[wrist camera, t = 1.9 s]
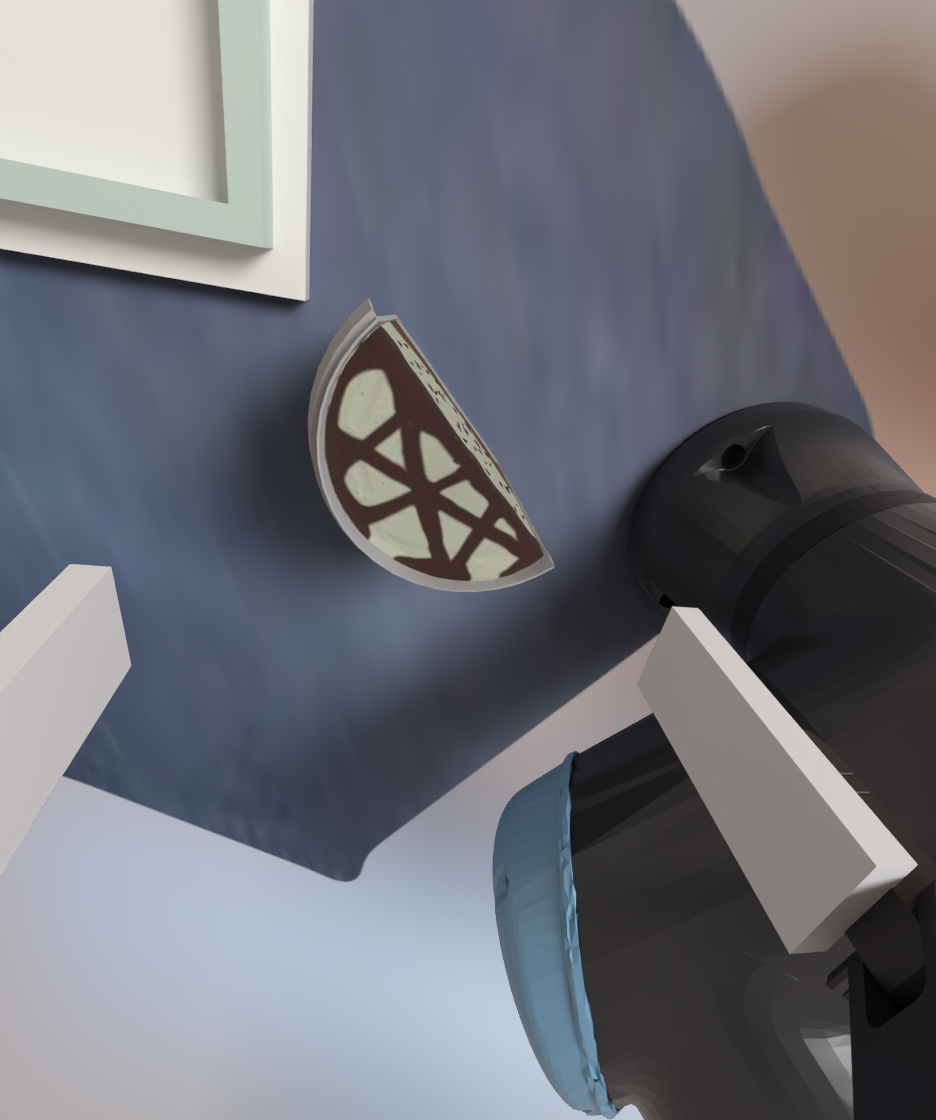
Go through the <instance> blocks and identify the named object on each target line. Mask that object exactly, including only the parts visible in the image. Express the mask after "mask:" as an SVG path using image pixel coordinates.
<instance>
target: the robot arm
mask: <svg viewBox="0 0 936 1120" xmlns="http://www.w3.org/2000/svg"><path fill="white" fill-rule="evenodd" d="M630 558H631V563H632V567H633V571H634V573H635V576H636V578H637V580H638V582H639V584H640V585H641V587H642V588H643V590H644V591H645V592H646V594H647V595H648V596H649V598H650V599H651V600H652V602H653V603H654V604H655V606H656V607H657V608H658V609H659V610H660V611H661V612H662V613H663V614H664V615H665V616H666V617H667V619H666V621H665V624H664V626H663V628H662V630H661V632H660V635H659V637H658V639H657V642H656V644H655V646H654V648H653V650H652V653H651V655H650V657H649V659H648V661H647V664H646V666H645V668H644V670H643V673H642V675H641V677H640V679H639V682H638V684H637V685H638V686H639V688H640V690H641V692H642V694H643V695H644V697H645V699H646V700H647V703H648V704H649V706H650V708H651V709H652V711H653V713H652V714H650V715H649V716H647V717H645V718H643V719H641V720H639V721H638V722H636V723H634V724H632V725H630V726H629V727H627V728H625V729H623V730H621V731H620V732H618V733H616V734H614V735H612V736H611V737H609V738H607V739H605V740H603V741H601V742H600V743H598V744H596V745H594V746H592V747H591V748H589V749H587V750H585V751H583V752H582V753H578V752H577V751H574V752H572V753H570V754H568V755H567V757H566V758H565V759H564V762H563V763H562V764H560V765H559V766H557V767H555V768H554V769H552V770H551V771H549V772H548V773H546V774H544V775H543V776H542V777H540V778H538V779H536V780H535V781H533V782H532V783H530V784H529V785H527V786H526V787H524V788H522V789H521V790H520V791H519V792H517V793H516V794H515V795H514V796H513V797H512V798H511V799H510V801H509V802H508V804H507V805H506V807H505V809H504V811H503V813H502V815H501V818H500V820H499V824H498V827H497V831H496V836H495V843H494V853H493V888H494V896H495V913H496V921H497V927H498V934H499V939H500V945H501V950H502V955H503V960H504V963H505V968H506V972H507V976H508V980H509V984H510V988H511V991H512V994H513V997H514V1001H515V1004H516V1007H517V1010H518V1013H519V1016H520V1019H521V1021H522V1024H523V1027H524V1029H525V1032H526V1035H527V1038H528V1040H529V1043H530V1045H531V1047H532V1050H533V1052H534V1054H535V1056H536V1058H537V1060H538V1062H539V1064H540V1066H541V1068H542V1070H543V1072H544V1073H545V1075H546V1077H547V1079H548V1080H549V1082H550V1084H551V1085H552V1086H553V1088H554V1089H555V1091H556V1092H557V1093H558V1094H559V1096H560V1097H561V1098H562V1099H563V1100H564V1101H565V1102H566V1103H567V1104H568V1105H569V1106H570V1107H572V1108H573V1109H575V1110H580V1111H583V1112H585V1113H586V1114H587V1115H591V1116H593V1115H603V1116H604V1117H606V1118H607V1119H613V1118H614V1117H615V1116H616V1114H618V1113H619V1111H620V1110H621V1109H622V1108H623V1107H624V1106H626V1105H629V1104H632V1105H634V1106H636V1107H637V1109H638V1110H639V1112H640V1113H641V1115H642V1117H643V1118H644V1120H936V498H934V497H932V496H930V495H928V494H926V493H924V492H923V491H922V490H921V489H920V488H919V487H918V485H917V484H916V483H915V482H914V481H913V480H912V479H911V478H910V477H909V476H908V475H907V474H906V472H904V470H903V469H901V467H900V466H899V465H898V464H897V463H896V462H895V461H894V460H893V458H892V457H891V456H890V455H889V454H888V453H887V452H886V451H885V450H884V449H883V448H882V447H881V446H880V444H879V443H878V442H877V441H876V440H875V439H874V438H873V437H872V436H871V435H870V434H869V433H868V432H867V431H866V430H864V429H863V428H862V427H860V426H859V425H857V424H856V423H854V422H852V421H851V420H849V419H847V418H844V417H842V416H840V415H837V414H834V413H831V412H829V411H826V410H823V409H821V408H818V407H815V406H812V405H808V404H803V403H796V402H774V403H766V404H761V405H756V406H752V407H749V408H745V409H743V410H740V411H737V412H734V413H732V414H730V415H727V416H725V417H723V418H721V419H719V420H717V421H715V422H714V423H712V424H710V425H709V426H707V427H705V428H704V429H702V430H701V431H699V432H698V433H697V434H695V435H694V436H693V437H691V438H690V439H689V440H688V441H686V442H685V443H684V444H683V445H682V446H681V447H679V448H678V449H677V450H676V451H675V452H674V453H673V454H672V455H671V456H670V457H669V459H668V460H667V461H666V462H665V463H664V464H663V465H662V467H661V468H660V469H659V470H658V472H657V473H656V475H655V476H654V477H653V479H652V480H651V482H650V483H649V485H648V487H647V489H646V490H645V492H644V494H643V496H642V498H641V500H640V502H639V505H638V507H637V510H636V513H635V516H634V519H633V523H632V528H631V534H630ZM130 667H131V662H130V657H129V652H128V647H127V642H126V637H125V632H124V627H123V622H122V618H121V613H120V608H119V603H118V598H117V593H116V588H115V583H114V579H113V574H112V569H111V567H104V566H89V565H75V564H70V565H69V566H68V567H67V568H66V569H65V570H64V571H63V572H62V573H61V574H60V575H59V576H57V577H56V578H55V579H54V580H53V581H52V582H51V583H50V584H49V585H48V586H47V587H46V588H45V589H44V590H43V591H42V592H41V593H40V594H39V595H38V596H37V597H36V598H35V599H34V600H33V601H32V602H31V603H30V604H29V605H28V606H27V607H26V608H25V609H24V610H23V611H22V612H21V613H20V614H19V615H18V616H16V617H15V618H14V619H13V620H12V621H11V622H10V623H9V624H8V625H7V626H6V627H5V628H4V629H3V630H2V631H1V632H0V874H1V873H2V871H3V869H4V868H5V866H6V865H7V863H8V861H9V860H10V858H11V856H12V855H13V853H14V852H15V850H16V849H17V847H18V846H19V844H20V842H21V841H22V839H23V838H24V836H25V834H26V833H27V831H28V829H29V828H30V826H31V825H32V823H33V822H34V820H35V818H36V817H37V815H38V814H39V812H40V810H41V809H42V807H43V806H44V804H45V802H46V801H47V799H48V798H49V796H50V795H51V793H52V791H53V790H54V788H55V786H56V785H57V783H58V782H59V780H60V779H61V777H62V775H63V774H64V772H65V771H66V769H67V767H68V766H69V764H70V763H71V761H72V759H73V758H74V756H75V755H76V753H77V751H78V750H79V748H80V747H81V745H82V744H83V742H84V740H85V739H86V737H87V736H88V734H89V732H90V731H91V729H92V728H93V726H94V724H95V723H96V721H97V720H98V718H99V716H100V715H101V713H102V712H103V710H104V708H105V707H106V705H107V704H108V702H109V700H110V699H111V697H112V696H113V694H114V692H115V691H116V689H117V688H118V686H119V685H120V683H121V681H122V680H123V678H124V677H125V675H126V673H127V672H128V670H129V669H130Z"/></svg>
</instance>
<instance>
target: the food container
mask: <svg viewBox="0 0 936 1120" xmlns="http://www.w3.org/2000/svg"><path fill="white" fill-rule="evenodd" d="M308 438H309V449H310V453H311V458H312V462H313V467H314V472H315V476H316V480H317V483H318V486H319V488H320V491H321V494H322V496H323V499H324V501H325V504H326V506H327V507H328V509H329V511H330V512H331V514H332V516H333V517H334V519H335V521H336V523H337V524H338V526H339V527H340V528H341V529H342V530H343V532H344V533H345V534H346V535H347V536H348V538H349V539H350V540H351V541H352V542H353V543H354V544H355V545H356V546H357V547H358V548H359V549H360V550H362V551H363V552H364V553H365V554H366V555H367V556H368V557H369V558H371V559H372V560H373V561H374V562H376V563H377V564H379V565H380V566H382V567H383V568H385V569H386V570H388V571H390V572H391V573H393V574H395V575H397V576H399V577H401V578H404V579H406V580H408V581H410V582H413V583H416V584H419V585H423V586H426V587H429V588H433V589H439V590H446V591H453V592H480V591H489V590H497V589H501V588H505V587H509V586H513V585H517V584H520V583H522V582H525V581H527V580H530V579H533V578H535V577H538V576H540V575H541V574H543V573H545V572H547V571H549V570H551V569H553V568H554V565H553V564H554V563H553V561H552V559H551V556H550V554H549V552H548V550H547V549H545V548H544V546H543V544H542V542H541V540H540V538H539V536H538V535H537V533H536V531H535V529H534V527H533V525H532V523H531V522H530V520H529V518H528V516H527V514H526V512H525V510H524V509H523V507H522V505H521V503H520V501H519V499H518V497H517V496H516V494H515V492H514V490H513V488H512V486H511V484H510V482H509V481H508V479H507V477H506V475H505V473H504V471H503V469H502V468H501V466H500V464H499V462H498V461H497V459H496V458H495V457H494V455H493V454H492V452H491V451H490V449H489V448H488V447H487V445H486V444H485V442H484V441H483V439H482V438H481V436H480V435H479V434H478V432H477V431H476V429H475V428H474V426H473V425H472V424H471V422H470V421H469V419H468V418H467V416H466V415H465V414H464V412H463V411H462V409H461V408H460V406H459V405H458V403H457V402H456V401H455V399H454V398H453V396H452V395H451V393H450V392H449V391H448V389H447V388H446V386H445V385H444V383H443V382H442V380H441V379H440V378H439V376H438V375H437V373H436V372H435V370H434V369H433V368H432V366H431V365H430V363H429V362H428V360H427V359H426V357H425V356H424V355H423V353H422V352H421V350H420V349H419V347H418V346H417V345H416V343H415V342H414V340H413V339H412V337H411V336H410V334H409V333H408V332H407V330H406V329H405V327H404V326H403V324H402V323H401V322H400V320H399V319H398V317H397V316H396V314H393V315H385V316H378V317H377V316H376V314H375V313H374V310H373V307H372V304H371V302H370V301H369V299H368V298H367V299H366V300H365V301H364V302H363V303H362V304H361V305H360V306H359V307H358V308H357V309H356V310H355V311H354V312H353V313H352V314H351V315H350V316H349V317H348V318H347V319H346V321H345V322H344V324H343V325H342V326H341V328H340V329H339V331H338V332H337V333H336V335H335V336H334V338H333V339H332V340H331V342H330V344H329V346H328V348H327V350H326V352H325V354H324V356H323V359H322V361H321V363H320V365H319V367H318V370H317V374H316V377H315V380H314V384H313V387H312V391H311V395H310V404H309V413H308Z"/></svg>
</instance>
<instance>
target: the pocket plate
mask: <svg viewBox="0 0 936 1120" xmlns="http://www.w3.org/2000/svg"><path fill="white" fill-rule="evenodd" d="M313 10H314V0H0V249H6V250H12V251H18V252H23V253H29V254H35V255H41V256H47V257H52V258H58V259H64V260H70V261H76V262H81V263H87V264H93V265H99V266H105V267H110V268H116V269H122V270H128V271H134V272H140V273H145V274H151V275H157V276H163V277H169V278H174V279H180V280H186V281H192V282H198V283H203V284H209V285H215V286H221V287H227V288H232V289H238V290H244V291H250V292H256V293H261V294H267V295H273V296H279V297H285V298H290V299H296V300H302V301H306V300H308V299H309V278H310V211H311V144H312V77H313Z"/></svg>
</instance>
